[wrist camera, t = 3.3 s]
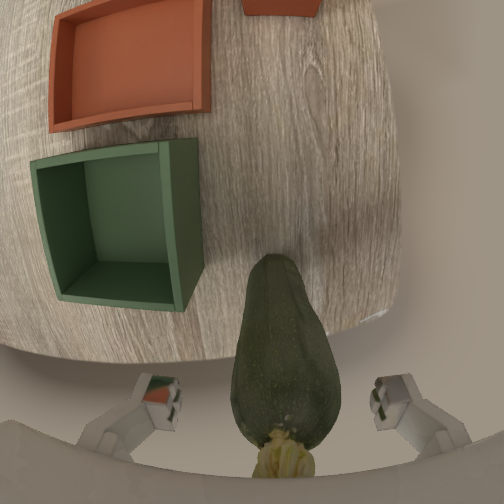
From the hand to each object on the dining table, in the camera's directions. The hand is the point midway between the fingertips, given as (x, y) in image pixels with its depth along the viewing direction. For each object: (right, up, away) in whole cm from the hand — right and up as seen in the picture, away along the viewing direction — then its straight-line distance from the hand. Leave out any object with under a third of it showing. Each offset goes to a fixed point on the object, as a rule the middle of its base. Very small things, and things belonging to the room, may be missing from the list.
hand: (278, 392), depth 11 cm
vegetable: (+1, +5, +13) cm, 14 cm away
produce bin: (-10, +9, +11) cm, 18 cm away
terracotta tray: (-10, +20, +7) cm, 24 cm away
